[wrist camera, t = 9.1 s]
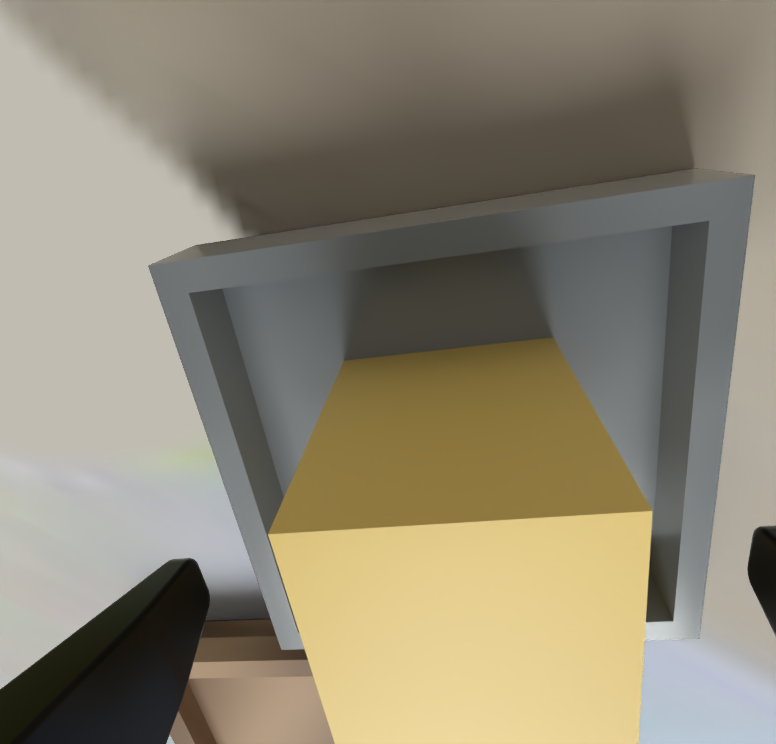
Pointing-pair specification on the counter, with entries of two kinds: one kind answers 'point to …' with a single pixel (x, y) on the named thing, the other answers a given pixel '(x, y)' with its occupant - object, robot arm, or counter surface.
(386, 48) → the counter surface
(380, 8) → the counter surface
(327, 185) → the counter surface
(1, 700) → the robot arm
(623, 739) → the block
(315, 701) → the tray
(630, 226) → the dish
